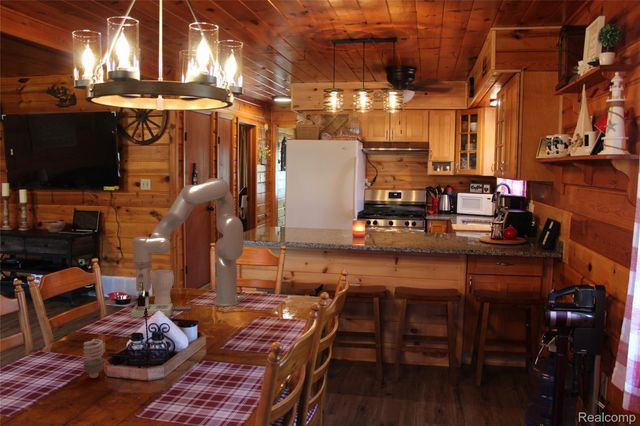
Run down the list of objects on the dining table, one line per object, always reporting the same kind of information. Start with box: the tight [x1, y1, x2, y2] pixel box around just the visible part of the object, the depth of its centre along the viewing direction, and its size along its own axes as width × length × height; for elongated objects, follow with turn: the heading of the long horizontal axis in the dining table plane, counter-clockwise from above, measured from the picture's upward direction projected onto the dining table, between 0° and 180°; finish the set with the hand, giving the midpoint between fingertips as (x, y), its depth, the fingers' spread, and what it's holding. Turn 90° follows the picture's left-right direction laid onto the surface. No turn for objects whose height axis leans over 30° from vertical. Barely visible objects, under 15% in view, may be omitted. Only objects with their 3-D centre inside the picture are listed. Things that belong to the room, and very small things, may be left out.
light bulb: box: [82, 338, 104, 379], centre depth 157 cm, size 6×6×12 cm
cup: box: [150, 269, 175, 304], centre depth 247 cm, size 11×11×15 cm
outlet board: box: [130, 302, 174, 318], centre depth 229 cm, size 16×12×3 cm
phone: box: [172, 306, 193, 312], centre depth 236 cm, size 8×4×1 cm, turn 97°
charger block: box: [138, 297, 150, 310], centre depth 228 cm, size 4×4×7 cm
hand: (143, 303), depth 228 cm, fingers open, 9 cm apart
